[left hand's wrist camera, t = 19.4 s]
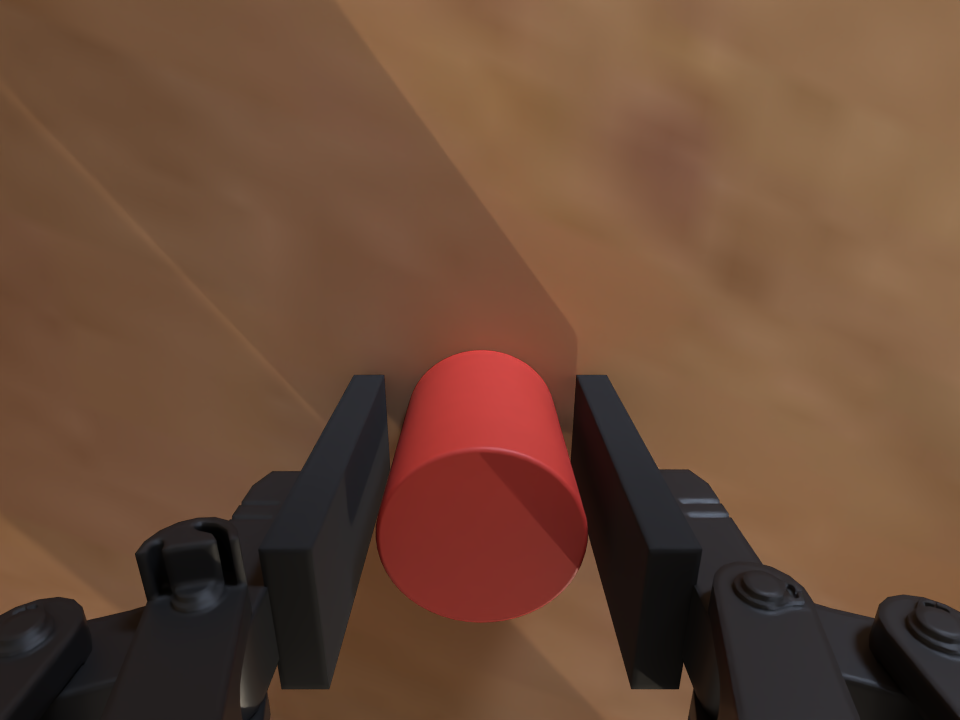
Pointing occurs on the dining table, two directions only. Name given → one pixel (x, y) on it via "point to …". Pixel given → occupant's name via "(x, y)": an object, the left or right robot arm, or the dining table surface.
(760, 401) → the dining table surface
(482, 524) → the canister
